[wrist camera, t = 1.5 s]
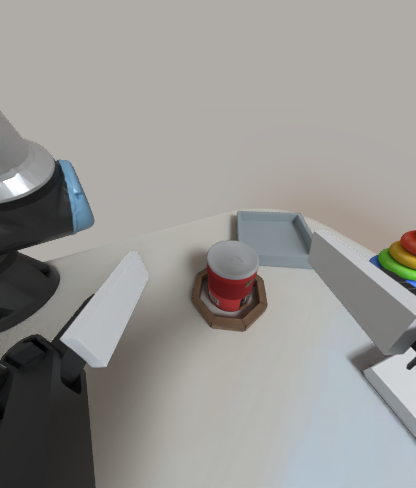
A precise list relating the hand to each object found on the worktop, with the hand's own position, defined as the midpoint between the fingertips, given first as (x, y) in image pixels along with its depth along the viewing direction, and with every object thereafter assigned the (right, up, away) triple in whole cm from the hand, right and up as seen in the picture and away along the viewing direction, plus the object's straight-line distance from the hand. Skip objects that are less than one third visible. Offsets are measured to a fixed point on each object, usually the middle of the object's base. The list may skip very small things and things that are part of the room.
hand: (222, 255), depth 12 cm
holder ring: (+3, -9, +19) cm, 22 cm away
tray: (+16, +2, +31) cm, 35 cm away
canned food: (+3, -9, +20) cm, 22 cm away
